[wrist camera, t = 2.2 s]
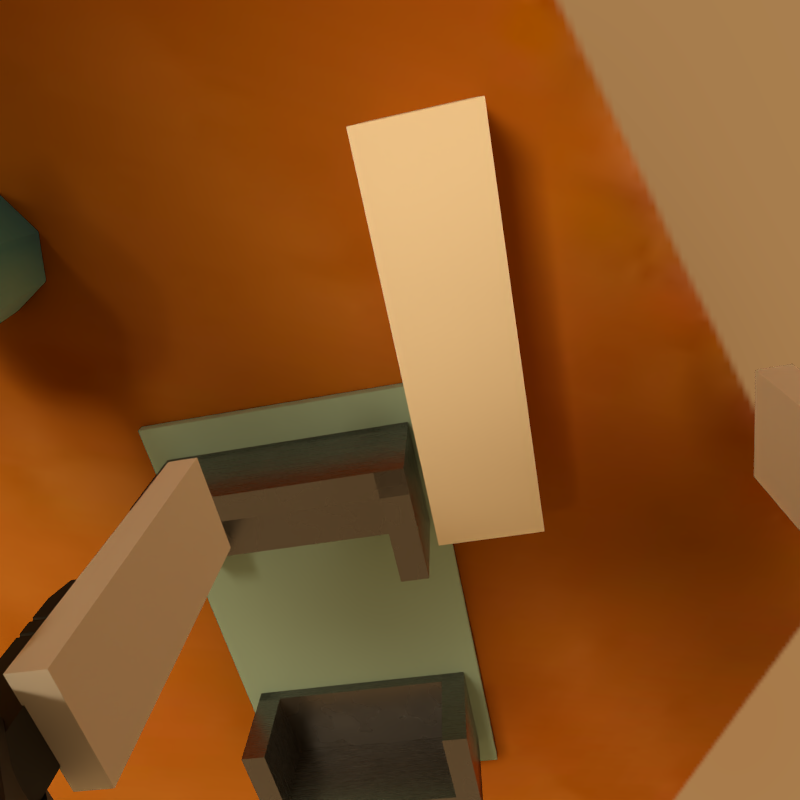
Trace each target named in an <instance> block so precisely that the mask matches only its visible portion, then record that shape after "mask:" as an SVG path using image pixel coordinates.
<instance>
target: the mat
mask: <svg viewBox="0 0 800 800" xmlns="http://www.w3.org/2000/svg"><path fill="white" fill-rule="evenodd" d="M403 422H408V425H409V429H410V434H411V438H412V443H413V447H414V451H415V456H416V460H417V465H418V469H419V474H420V478H421V483H422V487H423V492H424V496H425V501H426V505H427V510H428V514H429V519H430V561H429V578H428V579H420V580H412V581H404V582H401V580H400V576H399V572H398V568H397V564H396V560H395V556H394V552H393V548H392V545H391V541H390V537H389V534H385V535H377V536H370V537H363V538H355V539H348V540H341V541H333V542H326V543H319V544H312V545H304V546H297V547H290V548H282V549H275V550H268V551H261V552H253V553H246V554H239V555H231V556H227V557H226V559H225V561H224V563H223V565H222V567H221V569H220V571H219V573H218V575H217V577H216V579H215V581H214V583H213V586H212V588H211V590H210V592H209V594H208V596H207V598H208V600H209V603H210V605H211V607H212V610H213V612H214V615H215V617H216V620H217V622H218V624H219V627H220V629H221V632H222V634H223V636H224V639H225V641H226V644H227V646H228V648H229V651H230V653H231V656H232V658H233V660H234V663H235V665H236V668H237V670H238V672H239V675H240V677H241V680H242V682H243V684H244V687H245V689H246V692H247V694H248V696H249V699H250V701H251V704H252V706H253V708H254V711H255V713H256V710H257V706H258V703H259V700H260V696H261V693H269V692H278V691H288V690H297V689H307V688H316V687H325V686H335V685H344V684H354V683H363V682H372V681H382V680H391V679H401V678H410V677H419V676H429V675H438V674H447V673H457V672H464V676H465V680H466V685H467V689H468V694H469V698H470V703H471V707H472V711H473V716H474V720H475V725H476V729H477V734H478V738H479V748H480V761H485V760H497V752H496V747H495V743H494V738H493V733H492V728H491V724H490V719H489V714H488V709H487V704H486V700H485V695H484V690H483V685H482V681H481V676H480V671H479V666H478V662H477V657H476V652H475V647H474V642H473V638H472V633H471V628H470V623H469V619H468V614H467V609H466V604H465V599H464V595H463V590H462V585H461V580H460V576H459V571H458V566H457V561H456V556H455V552H454V547H453V544H447V545H440V546H439V544H438V540H437V535H436V531H435V526H434V522H433V517H432V513H431V508H430V503H429V499H428V494H427V490H426V485H425V481H424V476H423V472H422V467H421V463H420V458H419V454H418V449H417V445H416V440H415V436H414V431H413V427H412V422H411V417H410V413H409V408H408V404H407V399H406V395H405V390H404V386H403V383H399V384H393V385H387V386H381V387H375V388H370V389H364V390H358V391H352V392H346V393H340V394H334V395H328V396H322V397H316V398H310V399H304V400H298V401H292V402H286V403H280V404H274V405H268V406H263V407H257V408H251V409H245V410H239V411H233V412H227V413H221V414H215V415H209V416H203V417H197V418H191V419H185V420H179V421H173V422H167V423H161V424H156V425H150V426H144V427H141V428H140V429H139V430H138V432H139V434H140V437H141V439H142V442H143V444H144V446H145V449H146V451H147V454H148V456H149V458H150V461H151V463H152V466H153V468H154V470H155V473H156V474H157V473H158V472H159V470H160V469H161V468H162V467H163V465H164V464H165V463H166V461H167V460H172V459H178V458H184V457H190V456H197V455H203V454H209V453H215V452H222V451H228V450H234V449H240V448H247V447H253V446H259V445H265V444H272V443H278V442H284V441H290V440H297V439H303V438H309V437H315V436H322V435H328V434H334V433H341V432H347V431H353V430H359V429H366V428H372V427H378V426H384V425H391V424H397V423H403Z"/></svg>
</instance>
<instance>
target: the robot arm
mask: <svg viewBox="0 0 800 800" xmlns="http://www.w3.org/2000/svg"><path fill="white" fill-rule="evenodd" d="M755 377H756V378H755V379H756V380H755V437H754V477H755V479H756V480H757V481H758V482H759V483H760V484H761V486H762V487H763V488H764V489H765V490H766V492H767V493H768V494H769V495H770V496H771V497H772V499H773V500H774V501H775V502H776V503H777V504H778V506H779V507H780V508H781V509H782V510H783V512H784V513H785V514H786V515H787V516H788V517H789V519H790V520H791V521H792V522H793V523H794V524H795V526H796V527H797V528H798V529H799V530H800V369H799V368H797V367H796V366H795V365H793V364H789V365H783V366H777V367H770V368H764V369H757V370H756V376H755ZM230 548H231V547H230V544H229V541H228V539H227V536H226V533H225V531H224V528H223V525H222V523H221V520H220V517H219V515H218V512H217V509H216V507H215V504H214V501H213V499H212V496H211V493H210V491H209V488H208V485H207V483H206V480H205V477H204V475H203V472H202V469H201V467H200V464H199V461H198V459H197V458H191V459H184V460H178V461H172V462H168V463H167V464H166V466H165V467H164V468H163V469H162V471H161V472H160V473H159V475H158V476H157V477H156V478H155V480H154V481H153V482H152V484H151V485H150V486H149V487H148V489H147V490H146V491H145V493H144V494H143V495H142V496H141V498H140V499H139V500H138V502H137V503H136V504H135V505H134V507H133V508H132V509H131V511H130V512H129V513H128V514H127V516H126V517H125V518H124V520H123V521H122V522H121V523H120V525H119V526H118V527H117V528H116V530H115V531H114V532H113V534H112V535H111V536H110V537H109V539H108V540H107V541H106V543H105V544H104V545H103V546H102V548H101V549H100V550H99V552H98V553H97V554H96V555H95V557H94V558H93V559H92V561H91V562H90V563H89V564H88V566H87V567H86V568H85V570H84V571H83V572H82V573H81V575H80V576H79V577H78V579H77V580H71V581H70V582H68V583H67V584H66V585H65V586H63V587H62V588H61V589H60V590H58V591H57V592H56V593H55V594H53V595H52V596H51V597H50V598H48V600H47V601H46V602H45V603H44V605H43V606H42V607H41V608H40V609H39V611H38V612H37V613H36V614H35V616H34V617H33V621H32V622H29V623H28V624H27V626H26V627H25V628H24V629H23V631H22V632H21V633H20V638H16V639H15V640H14V642H13V643H12V644H11V645H10V647H9V648H8V649H7V650H6V652H5V653H4V654H3V655H2V657H1V658H0V800H53V798H52V797H51V795H50V794H49V792H48V790H47V789H48V787H49V785H50V784H51V782H52V780H53V778H54V777H55V775H56V773H57V772H58V770H59V768H60V770H61V772H62V773H63V775H64V777H65V778H66V780H67V782H68V783H69V785H70V787H71V788H72V790H73V792H75V791H87V790H99V789H111V788H115V786H116V784H117V782H118V780H119V778H120V776H121V774H122V771H123V769H124V767H125V765H126V763H127V761H128V759H129V757H130V755H131V753H132V751H133V749H134V747H135V745H136V743H137V740H138V738H139V736H140V734H141V732H142V730H143V728H144V726H145V724H146V722H147V720H148V718H149V716H150V714H151V712H152V709H153V707H154V705H155V703H156V701H157V699H158V697H159V695H160V693H161V691H162V689H163V687H164V685H165V683H166V681H167V678H168V676H169V674H170V672H171V670H172V668H173V666H174V664H175V662H176V660H177V658H178V656H179V654H180V652H181V650H182V647H183V645H184V643H185V641H186V639H187V637H188V635H189V633H190V631H191V629H192V627H193V625H194V623H195V621H196V619H197V616H198V614H199V612H200V610H201V608H202V606H203V604H204V602H205V600H206V598H207V596H208V594H209V592H210V590H211V588H212V586H213V583H214V581H215V579H216V577H217V575H218V573H219V571H220V569H221V567H222V565H223V563H224V561H225V559H226V557H227V555H228V552H229V550H230Z"/></svg>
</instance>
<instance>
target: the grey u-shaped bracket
mask: <svg viewBox="0 0 800 800" xmlns="http://www.w3.org/2000/svg"><path fill="white" fill-rule="evenodd" d="M191 458H197V459H198V461H199V464H200V467H201V469H202V472H203V475H204V477H205V480H206V483H207V485H208V488H209V491H210V493H211V496H212V499H213V501H214V504H215V507H216V509H217V512H218V515H219V517H220V520H221V523H222V525H223V528H224V531H225V533H226V536H227V539H228V541H229V544H230V547H231V548H230V550H229V552H228V555H227V556H231V555H239V554H246V553H253V552H261V551H268V550H275V549H282V548H290V547H297V546H304V545H312V544H319V543H326V542H333V541H341V540H348V539H355V538H363V537H370V536H377V535H385V534H389V537H390V541H391V545H392V548H393V552H394V556H395V560H396V564H397V568H398V572H399V576H400V580H401V582H404V581H412V580H420V579H428V578H429V561H430V519H429V514H428V510H427V505H426V501H425V496H424V492H423V487H422V483H421V478H420V474H419V469H418V465H417V460H416V456H415V451H414V447H413V443H412V438H411V434H410V429H409V425H408V422H403V423H397V424H391V425H384V426H378V427H372V428H366V429H359V430H353V431H347V432H341V433H334V434H328V435H322V436H315V437H309V438H303V439H297V440H290V441H284V442H278V443H272V444H265V445H259V446H253V447H247V448H240V449H234V450H228V451H222V452H215V453H209V454H203V455H197V456H190V457H184V458H178V459H172V460H167V461H166V463H165V464H164V465H163V467H162V468H161V469H160V470H159V472H158V473H157V474H156V476H155V477H154V478H153V480H152V481H151V482H150V484H149V485H148V486H147V488H146V489H145V490H144V492H143V493H142V494H141V496H142V495H143V494H144V493H145V491H146V490H147V489H148V487H149V486H150V485H151V484H152V482H153V481H154V480H155V478H156V477H157V476H158V475H159V473H160V472H161V471H162V469H163V468H164V467H165V466H166V464H167V463H168V462H172V461H178V460H184V459H191ZM141 496H140V497H139V498H138V500H139V499H140V498H141ZM138 500H137V501H136V502H135V504H136V503H137V502H138ZM135 504H134V505H135ZM134 505H133V506H132V507H131V509H132V508H133V507H134ZM131 509H130V511H131Z"/></svg>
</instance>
